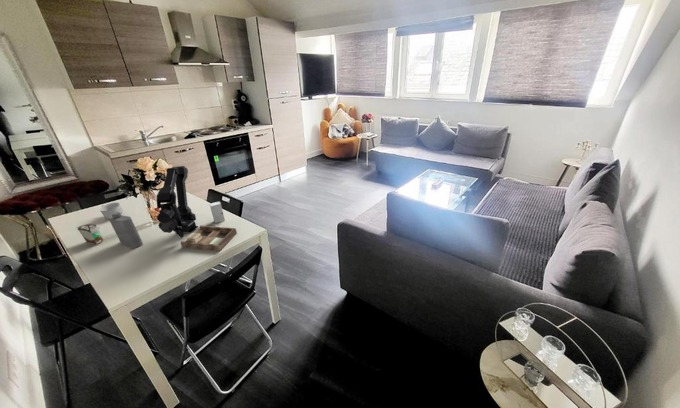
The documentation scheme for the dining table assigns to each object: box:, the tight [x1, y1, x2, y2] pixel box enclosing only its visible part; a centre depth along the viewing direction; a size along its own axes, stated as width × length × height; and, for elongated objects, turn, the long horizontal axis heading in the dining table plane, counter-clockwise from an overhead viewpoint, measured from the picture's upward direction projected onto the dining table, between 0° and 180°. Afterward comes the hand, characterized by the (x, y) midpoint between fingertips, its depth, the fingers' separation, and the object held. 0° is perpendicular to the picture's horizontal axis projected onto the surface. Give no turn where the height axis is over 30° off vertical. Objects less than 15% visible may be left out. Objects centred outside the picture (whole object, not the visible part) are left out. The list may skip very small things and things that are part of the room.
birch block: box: [186, 232, 202, 243], centre depth 145 cm, size 5×5×3 cm
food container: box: [76, 223, 104, 246], centre depth 150 cm, size 12×6×10 cm, turn 71°
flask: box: [107, 212, 144, 249], centre depth 144 cm, size 15×6×20 cm, turn 66°
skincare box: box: [209, 201, 226, 224], centre depth 165 cm, size 6×4×12 cm
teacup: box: [99, 201, 124, 219], centre depth 176 cm, size 14×11×8 cm
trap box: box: [180, 225, 238, 252], centre depth 148 cm, size 23×17×4 cm
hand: (182, 237), depth 147 cm, fingers closed
